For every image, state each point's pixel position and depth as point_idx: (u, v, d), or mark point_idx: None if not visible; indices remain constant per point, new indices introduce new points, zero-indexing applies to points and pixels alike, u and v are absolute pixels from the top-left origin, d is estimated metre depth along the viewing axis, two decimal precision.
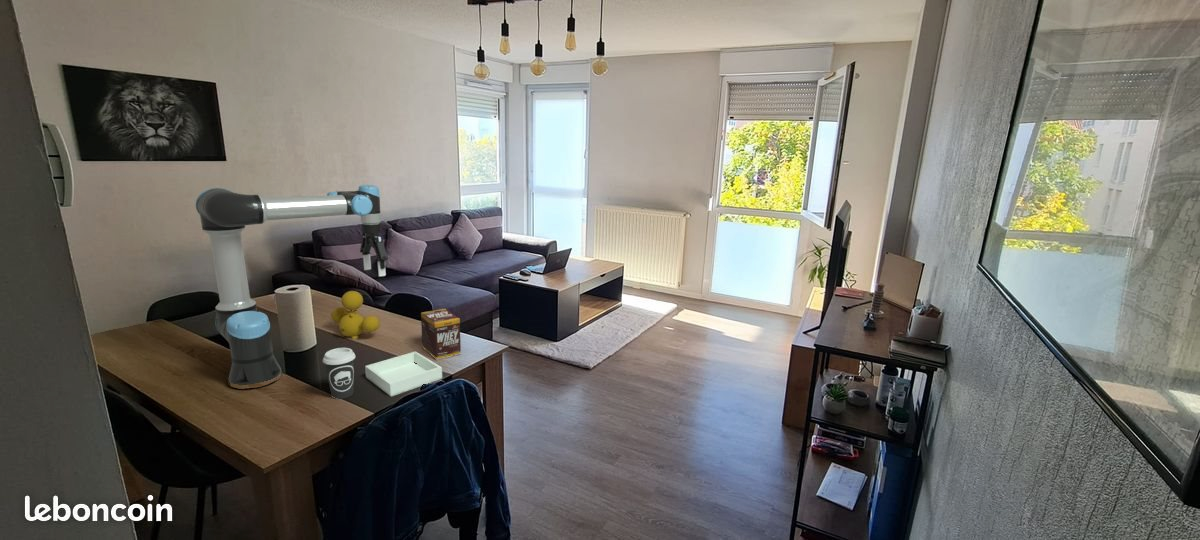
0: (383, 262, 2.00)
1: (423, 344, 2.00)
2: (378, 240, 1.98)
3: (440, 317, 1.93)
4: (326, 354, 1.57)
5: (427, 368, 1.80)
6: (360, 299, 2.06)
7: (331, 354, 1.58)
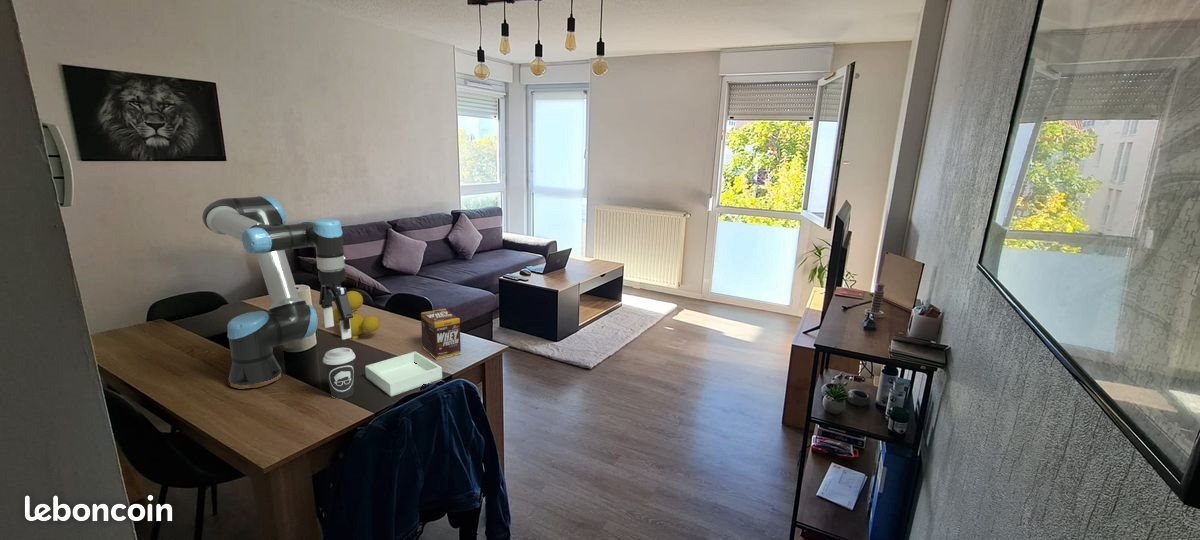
0: (347, 321, 1.51)
1: (423, 344, 2.00)
2: (340, 292, 1.49)
3: (440, 317, 1.93)
4: (326, 354, 1.57)
5: (427, 368, 1.80)
6: (360, 299, 2.06)
7: (331, 354, 1.58)
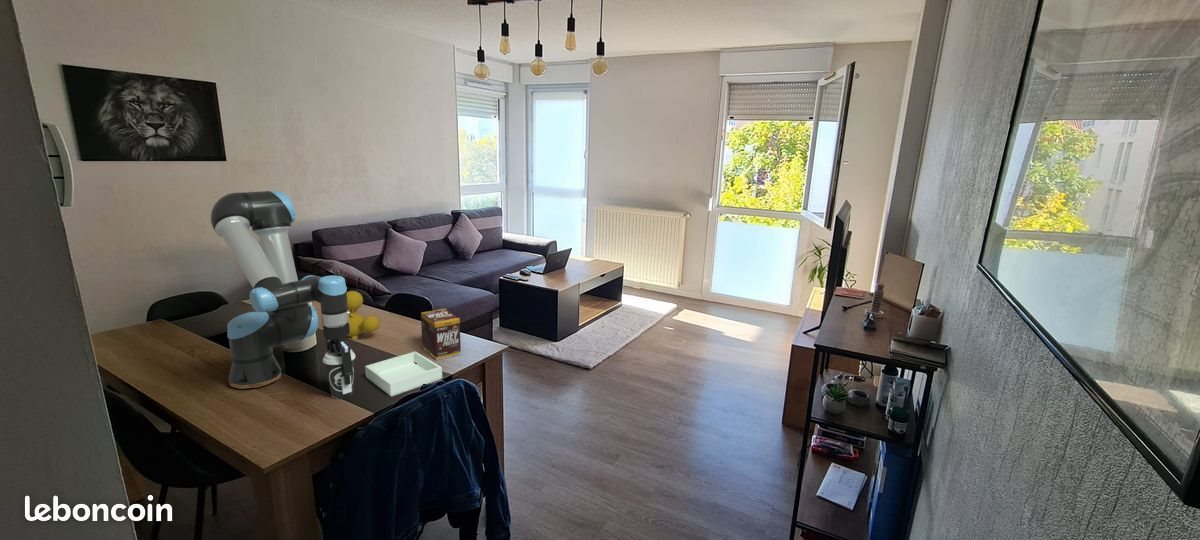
0: (348, 377, 1.57)
1: (423, 344, 2.00)
2: (344, 351, 1.53)
3: (440, 317, 1.93)
4: (326, 354, 1.57)
5: (427, 368, 1.80)
6: (360, 299, 2.06)
7: (331, 354, 1.58)
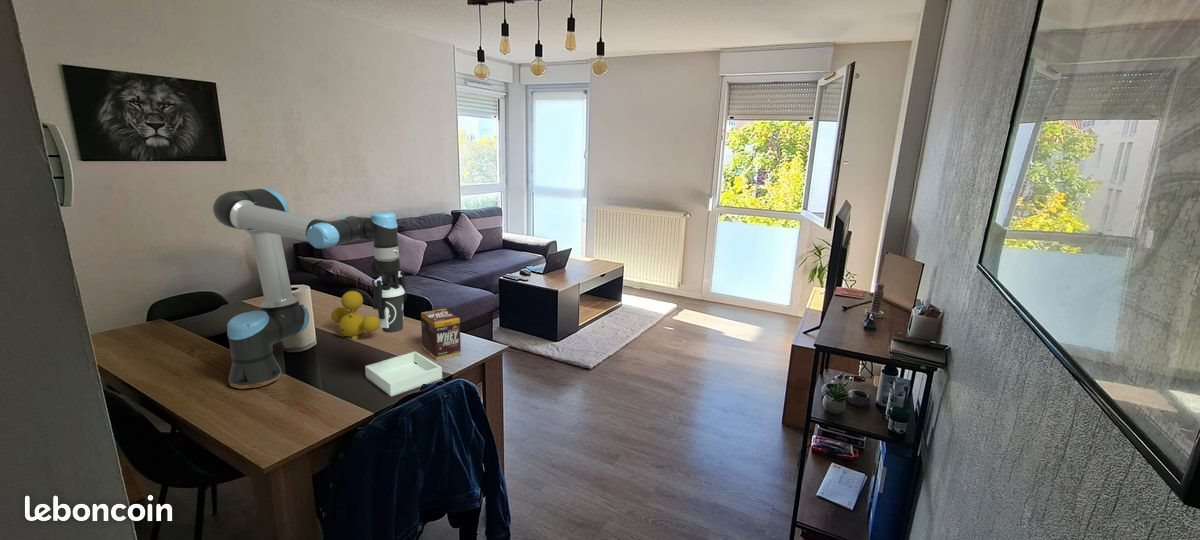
0: (380, 311, 1.60)
1: (423, 344, 2.00)
2: (374, 284, 1.57)
3: (440, 317, 1.93)
4: None
5: (427, 368, 1.80)
6: (360, 299, 2.06)
7: None
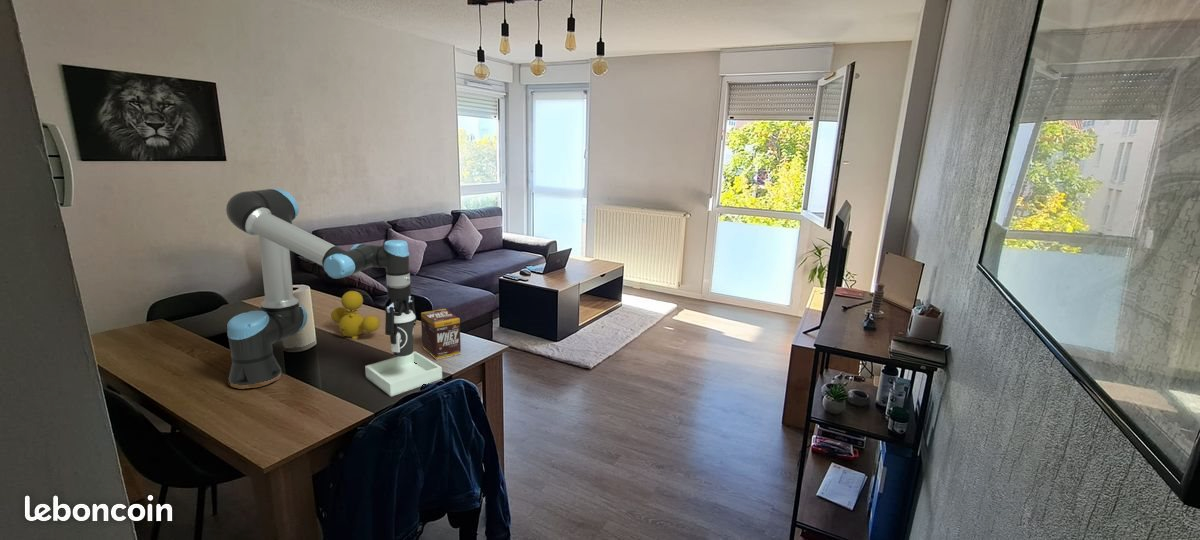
0: (392, 337, 1.65)
1: (423, 344, 2.00)
2: (386, 311, 1.62)
3: (440, 317, 1.93)
4: None
5: (427, 368, 1.80)
6: (360, 299, 2.06)
7: (396, 312, 1.70)
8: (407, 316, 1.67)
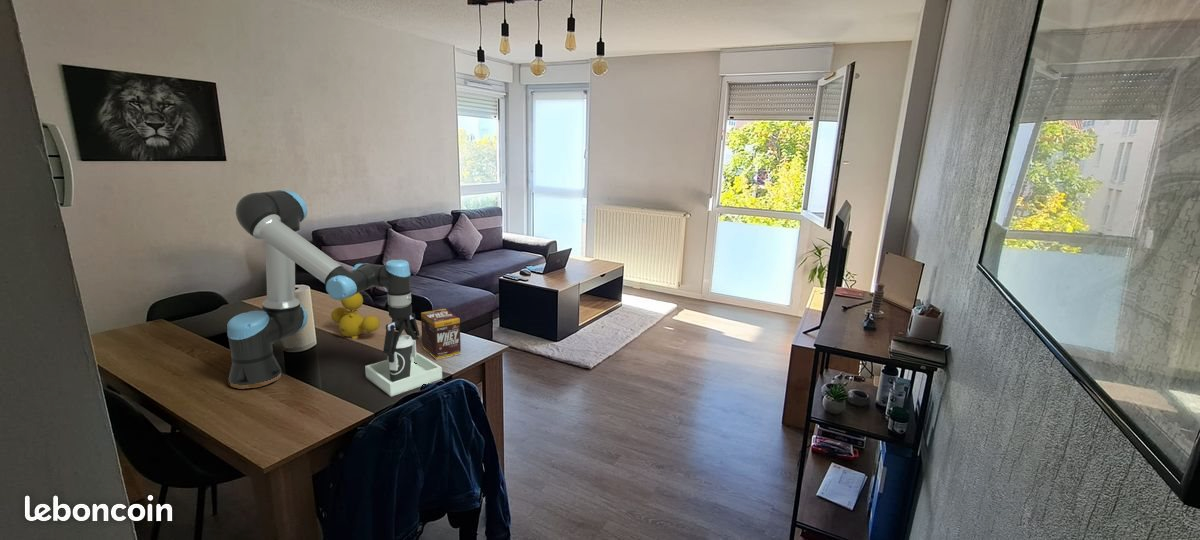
0: (390, 355, 1.65)
1: (423, 344, 2.00)
2: (387, 329, 1.63)
3: (440, 317, 1.93)
4: None
5: (427, 368, 1.80)
6: (360, 299, 2.06)
7: None
8: (405, 341, 1.68)
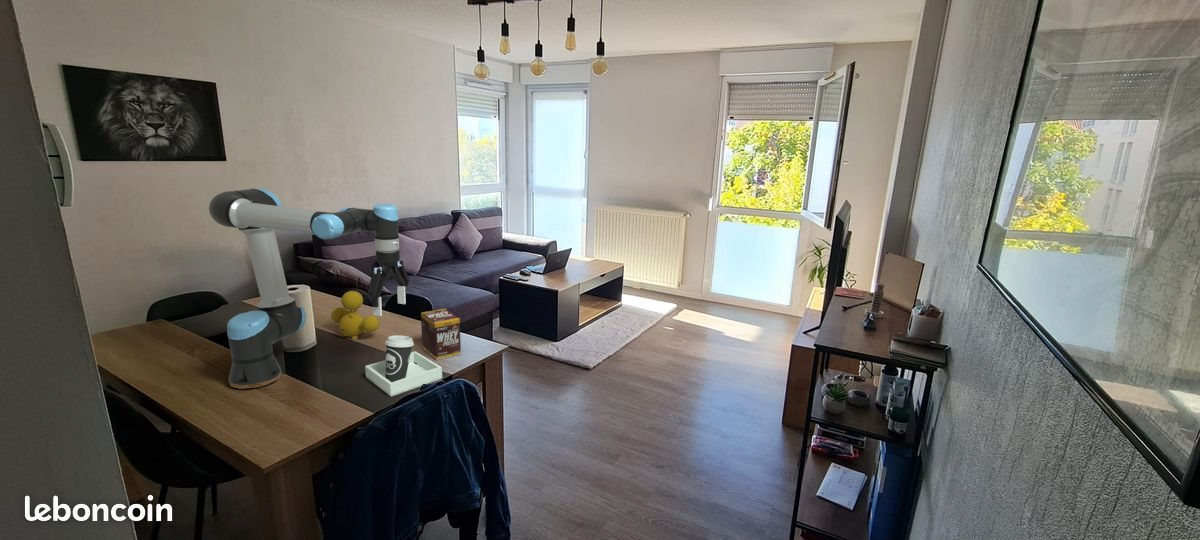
0: (374, 299, 1.61)
1: (423, 344, 2.00)
2: (373, 272, 1.60)
3: (440, 317, 1.93)
4: None
5: (427, 368, 1.80)
6: (360, 299, 2.06)
7: (396, 337, 1.71)
8: (405, 341, 1.68)
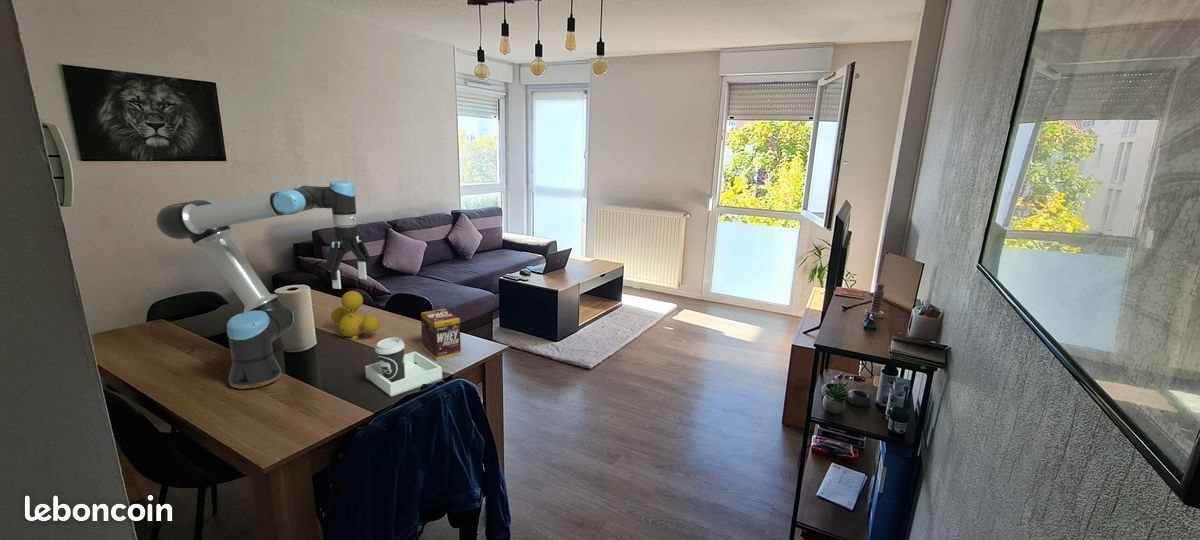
0: (332, 272, 1.67)
1: (423, 344, 2.00)
2: (331, 246, 1.67)
3: (440, 317, 1.93)
4: (382, 340, 1.68)
5: (427, 368, 1.80)
6: (360, 299, 2.06)
7: (385, 341, 1.67)
8: (396, 346, 1.64)
